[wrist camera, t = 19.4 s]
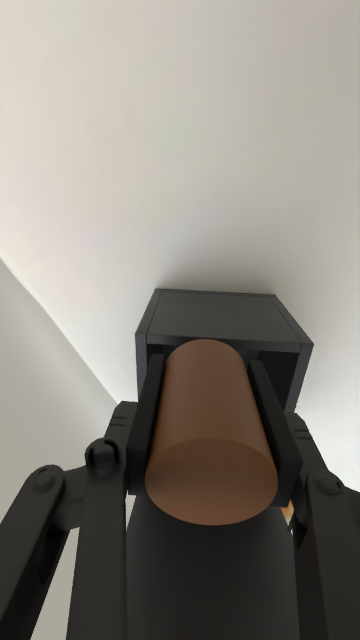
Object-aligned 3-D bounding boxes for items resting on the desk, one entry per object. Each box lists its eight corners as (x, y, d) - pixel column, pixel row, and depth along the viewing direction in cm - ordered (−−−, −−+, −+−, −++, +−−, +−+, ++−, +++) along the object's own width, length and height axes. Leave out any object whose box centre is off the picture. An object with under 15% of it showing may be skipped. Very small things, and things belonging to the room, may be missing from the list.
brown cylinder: (159, 341, 15) (134, 439, 9) (246, 336, 15) (283, 435, 9) (168, 407, 17) (153, 525, 11) (245, 404, 17) (275, 526, 11)
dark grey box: (155, 288, 27) (134, 333, 18) (275, 294, 27) (314, 343, 18) (155, 404, 34) (141, 479, 25) (251, 411, 33) (271, 489, 24)
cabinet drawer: (36, 851, 8) (35, 1023, 9) (452, 907, 8) (421, 1084, 8) (140, 479, 24) (137, 547, 25) (273, 490, 24) (267, 558, 25)
